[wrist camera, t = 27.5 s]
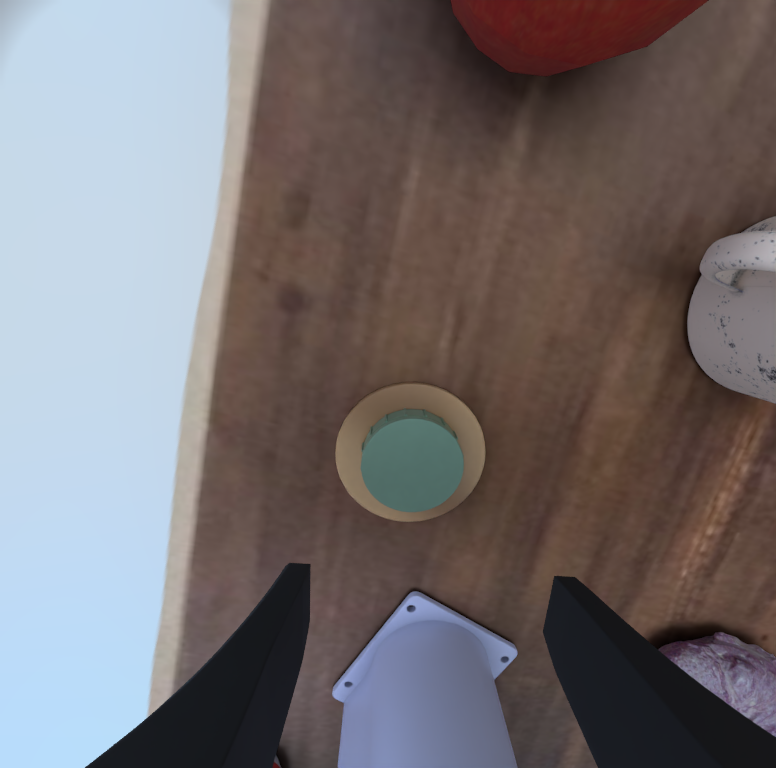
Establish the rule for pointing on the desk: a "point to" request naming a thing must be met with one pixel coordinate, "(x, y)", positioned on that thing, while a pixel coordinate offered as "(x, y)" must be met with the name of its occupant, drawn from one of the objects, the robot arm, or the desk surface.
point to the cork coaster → (396, 400)
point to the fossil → (731, 673)
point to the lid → (411, 460)
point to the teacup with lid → (738, 312)
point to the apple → (565, 29)
